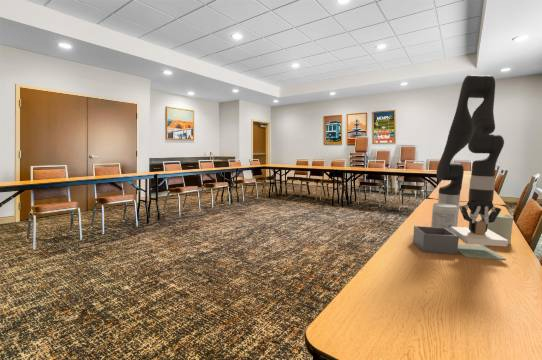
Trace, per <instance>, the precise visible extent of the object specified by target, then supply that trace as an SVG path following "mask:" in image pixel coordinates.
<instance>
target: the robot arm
mask: <svg viewBox="0 0 542 360" xmlns="http://www.w3.org/2000/svg"><path fill="white" fill-rule="evenodd" d="M495 95H496V79H495V77H494V76H493V75H490V74H489V75H488V74H487V75H486V74H485V75H484V74H469V75H468V74H467V75H466V76H465V77H464V79H463V81H462V84H461V88H460V92H459V96H458V100H457V105H456V111H455V112H454V117H453V119H452V122H451V125H450V129H449V130H448V131H449V132H448V136H447V138H446V143H445V147H444V149H443V153H442V155H441V157H440V159H439V162H438V165H437V168H436V173H435V175H436V178H437V179H438V180H440V181H450V182H449V184H447V185H444V186H440V187H439V189H438V195H437V197H438V199H437V203H446V204H453V205H456V206H457V219H456V227H458V222H459V211H460V212H461V215H462V217H463V220H464V221H467V222H468V228H469V230H470V232H472V233H475V224H476V223H475V221H476V219H478V217H479V215H480V219H481V220H483V221H485V222H486V230H485V232H487V226H488V223H491V222H494V221H495V219H496V218H497V216H498V214H501V213H500V212H501V211H502V208H500V207H497V206H496V205H495V206H494V203H493V201H494V194H495V186H496V185H495V175H496V174H495V173H496V166H497V163H498V159H499V156H500V155H501V152H502V150H503V149H504V145H505V140H504V137H503V136H502V135H501V134H496V133H495V134H492V133H494V131H496V122H495V121H496V120H495V115H494V105H495V97H496V96H495ZM470 98H472V99H483V100H482V102H481V103H480V104H479V105H478V106H477V108H475V110H474V111H473V113H472V115H471V113H470V111H469V107H468V105H469V103H468V101H469V99H470ZM466 146H467V147H468V151H469V152H471V153H473V154H489V155H488V156H487V157H486V158H482V159H477V160H473V161H472V164H471V173H470V174H471V175H470V176H471V177H470V179H469V189H468V201H467V203H466V204H465V205H464V204H463V205H460V201H461V190H462V187H463V179H464V171H465V170H464V164H463V163H461V162H453V161H452V160H453V159H454V157H455V156H456V155H457V154H458V153H460V151H462V149H464V148H465V147H466ZM468 211H470V212H469V213H468ZM488 213H490V215H489V214H488Z"/></svg>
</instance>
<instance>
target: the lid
mask: <svg viewBox="0 0 542 360" xmlns="http://www.w3.org/2000/svg"><path fill="white" fill-rule="evenodd" d="M475 223H476V224H475V233H472V232H470V230H469V227H465V226H464V227H463V226H457V227H451V230H450V231H451V232H453V233H454V234H456V235H457V236H459V239H458V240H461V241H462V242H463V243H465V245H477V246H494V247H495V246H497V247H498V246H499V247H508V246H509V245H508V240H507V239H505V238H503V237H501V236H499V235H498V234H496V233H494V232H492V231H491V230H489V229H487V232H485V230H486V222H485V221H483V220H481V218H480V219H479V218H476V221H475Z"/></svg>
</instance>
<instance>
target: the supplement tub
mask: <svg viewBox="0 0 542 360" xmlns="http://www.w3.org/2000/svg"><path fill="white" fill-rule="evenodd" d="M431 212H432V213H431V226H430V227H439V228H446V229H448V230H449V231H450V230H451V227H456V219H457V206H456V205H453V204H446V203H438V202H435V203H433V204H432V211H431Z"/></svg>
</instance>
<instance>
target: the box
mask: <svg viewBox="0 0 542 360" xmlns="http://www.w3.org/2000/svg"><path fill="white" fill-rule="evenodd" d="M412 237H413V238H412V242H413V244H414V245H415V246H416V247H417V249H419V250H420V251H421V252H422V253H430V254H431V253H432V254H434V253H435V254H446V255H458V244H459V240H460V239H459V236H457V235H456V234H454V233H453V232H451V231H449V230H448V229H446V228H439V227H431V226H423V225H422V226H419V225H414V226H413V236H412Z"/></svg>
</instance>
